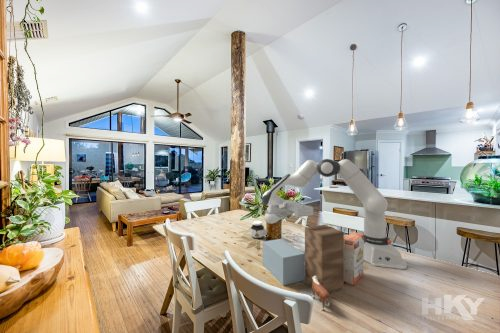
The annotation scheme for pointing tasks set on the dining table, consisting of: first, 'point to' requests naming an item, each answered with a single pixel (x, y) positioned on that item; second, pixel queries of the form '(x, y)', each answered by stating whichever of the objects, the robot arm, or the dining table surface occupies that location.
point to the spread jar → (258, 230)
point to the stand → (324, 256)
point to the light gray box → (299, 208)
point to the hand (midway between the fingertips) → (289, 203)
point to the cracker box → (353, 257)
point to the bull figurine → (320, 292)
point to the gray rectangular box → (284, 261)
